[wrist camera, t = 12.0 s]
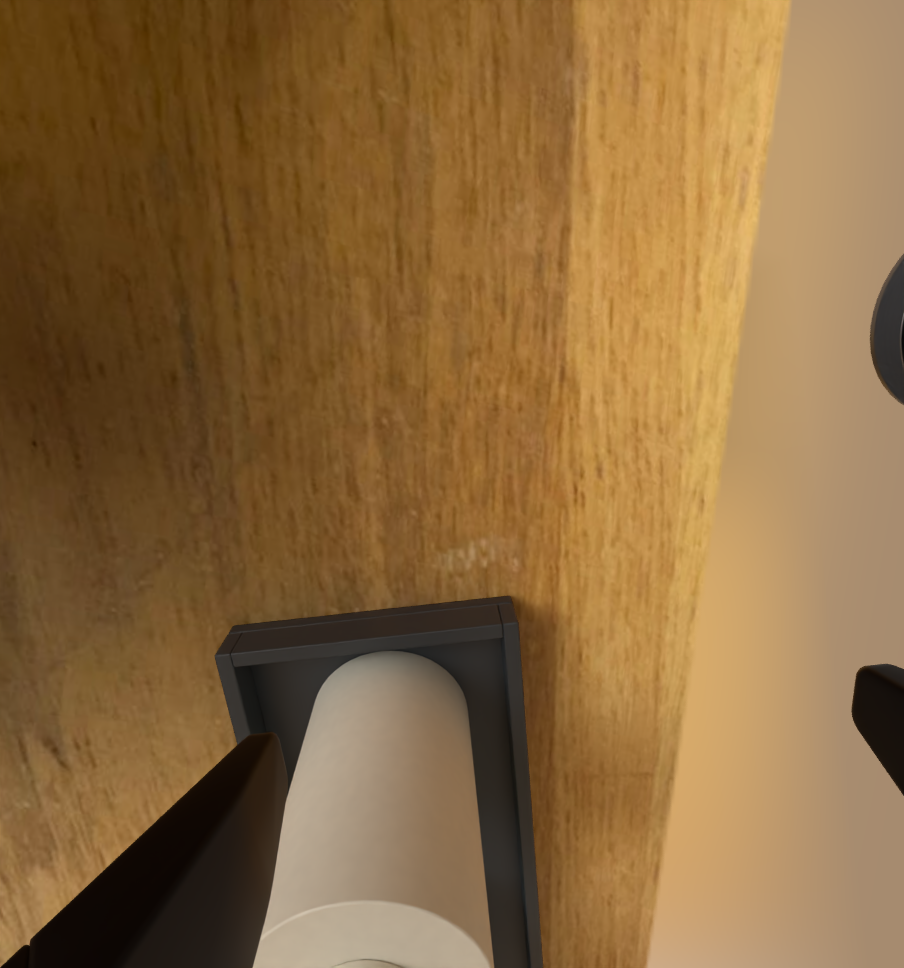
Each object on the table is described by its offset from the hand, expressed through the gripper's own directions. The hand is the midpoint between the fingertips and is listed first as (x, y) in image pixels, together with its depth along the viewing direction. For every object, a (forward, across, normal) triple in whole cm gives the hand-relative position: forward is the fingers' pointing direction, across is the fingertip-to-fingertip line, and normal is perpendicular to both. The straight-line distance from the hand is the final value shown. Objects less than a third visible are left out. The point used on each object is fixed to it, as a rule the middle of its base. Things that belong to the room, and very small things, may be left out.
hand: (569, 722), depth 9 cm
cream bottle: (+12, +5, +10) cm, 16 cm away
